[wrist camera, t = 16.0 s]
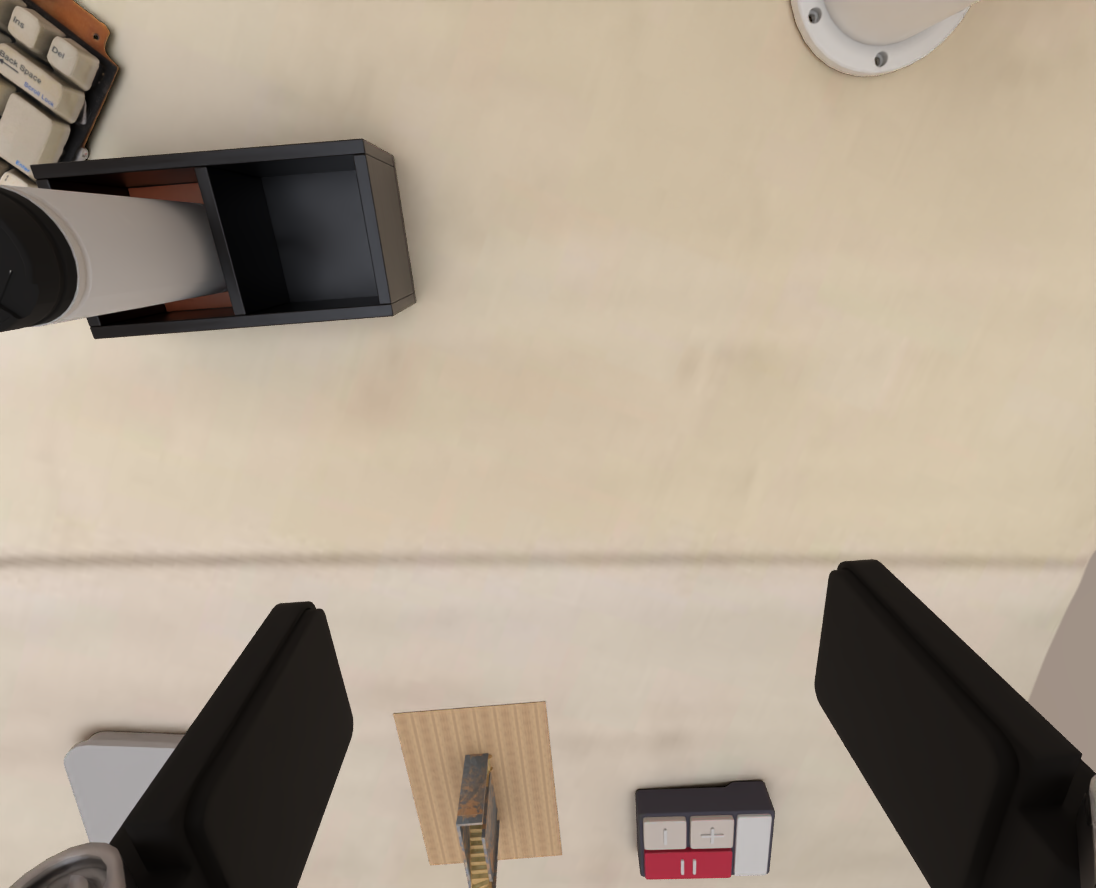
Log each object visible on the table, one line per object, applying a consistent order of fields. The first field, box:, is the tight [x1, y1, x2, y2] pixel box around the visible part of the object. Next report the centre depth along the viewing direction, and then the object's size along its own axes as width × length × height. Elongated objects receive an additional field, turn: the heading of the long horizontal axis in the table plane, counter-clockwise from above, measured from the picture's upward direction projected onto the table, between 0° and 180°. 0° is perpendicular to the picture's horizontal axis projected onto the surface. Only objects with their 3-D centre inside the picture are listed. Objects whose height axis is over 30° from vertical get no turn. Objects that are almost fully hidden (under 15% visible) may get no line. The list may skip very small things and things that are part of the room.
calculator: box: [635, 781, 775, 879], centre depth 63 cm, size 11×4×15 cm
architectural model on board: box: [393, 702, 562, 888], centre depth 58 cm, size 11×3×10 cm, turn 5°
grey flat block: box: [64, 731, 185, 844], centre depth 62 cm, size 16×26×2 cm, turn 175°
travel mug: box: [0, 185, 228, 332], centre depth 31 cm, size 6×7×20 cm
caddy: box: [30, 139, 416, 339], centre depth 38 cm, size 10×20×8 cm, turn 94°
